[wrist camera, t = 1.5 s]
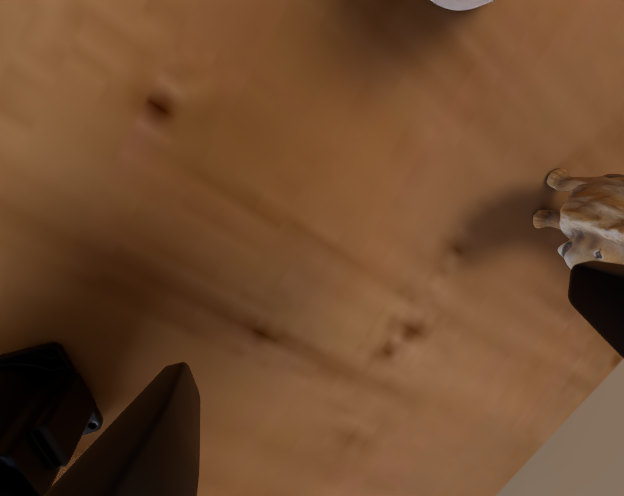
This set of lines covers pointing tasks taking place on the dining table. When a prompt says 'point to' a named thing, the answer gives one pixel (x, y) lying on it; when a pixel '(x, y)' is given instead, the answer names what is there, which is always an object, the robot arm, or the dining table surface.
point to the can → (460, 4)
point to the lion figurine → (588, 217)
